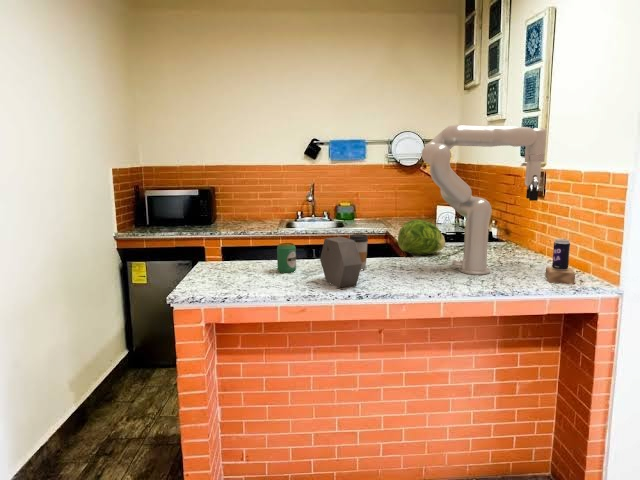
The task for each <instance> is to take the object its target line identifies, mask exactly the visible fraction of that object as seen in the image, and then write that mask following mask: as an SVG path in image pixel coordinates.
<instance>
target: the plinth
mask: <svg viewBox="0 0 640 480" xmlns="http://www.w3.org/2000/svg"><path fill="white" fill-rule="evenodd" d="M544 274H545V279H546V281H548V283H550V284H551V283H553V284H554V283H555V284H569V285H574V284H575V282H576V273H575V272H574V271H573V269H571V268H569V267H568V269H566V271H557V270H554V268H553V267H552V266H547V267H545V273H544Z"/></svg>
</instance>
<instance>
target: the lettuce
mask: <svg viewBox="0 0 640 480" xmlns="http://www.w3.org/2000/svg"><path fill="white" fill-rule="evenodd" d="M397 245H398V247H399V249H400V250H401V251H402V252H405V253H409V254H412V255H417V256H418V255H431V254H435V253H437V252H440V251H441V250H443V249H444V248H445V245H446V240H445V237H444V235H443V234H442V232H441V231H440V229H439V228H438V227H437V226H436V225H435V224H434V223H432V222H429V221H427V220H420V219H413V220H409V221H407V222H405V223H404V224H403V225H402V226H401V228H400V229H399V232H398V234H397Z"/></svg>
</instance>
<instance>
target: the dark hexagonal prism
mask: <svg viewBox="0 0 640 480" xmlns="http://www.w3.org/2000/svg"><path fill="white" fill-rule="evenodd" d="M321 249H322V250H321V255H320V257H319V258H320V259H319V260H320V264H321V268H322V270H323V271H322V272H323V273H324V279H325V282H326V283H328V284H330V283H331V284H330V285H332V286H335V287H336V288H338V289H340V288H341V287H342V288H346V287H348V288H349V287H355V286H357V284H358V280H359V277H360V274H361V271H360V270H361V266H362V262H361V259H360V256H359V253H358V249H357V246H356V243H355V241H354V240H351V239H349V237H345V236H335V237H326V238H324V240H323V244H322V248H321ZM354 285H355V286H354Z"/></svg>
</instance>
